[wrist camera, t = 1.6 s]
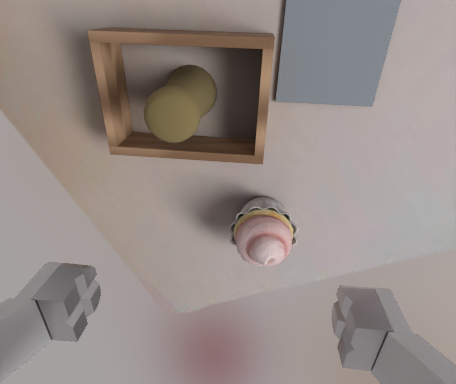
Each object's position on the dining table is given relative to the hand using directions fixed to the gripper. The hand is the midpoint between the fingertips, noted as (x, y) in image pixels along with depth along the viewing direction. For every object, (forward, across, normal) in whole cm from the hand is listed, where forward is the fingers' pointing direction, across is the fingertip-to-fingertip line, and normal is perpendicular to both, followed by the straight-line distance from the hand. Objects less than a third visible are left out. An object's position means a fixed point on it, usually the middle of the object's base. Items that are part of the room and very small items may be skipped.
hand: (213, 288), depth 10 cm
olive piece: (+30, +6, 0) cm, 31 cm away
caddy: (+30, +7, 0) cm, 31 cm away
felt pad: (+30, -9, -5) cm, 31 cm away
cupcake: (+31, -3, +17) cm, 35 cm away
